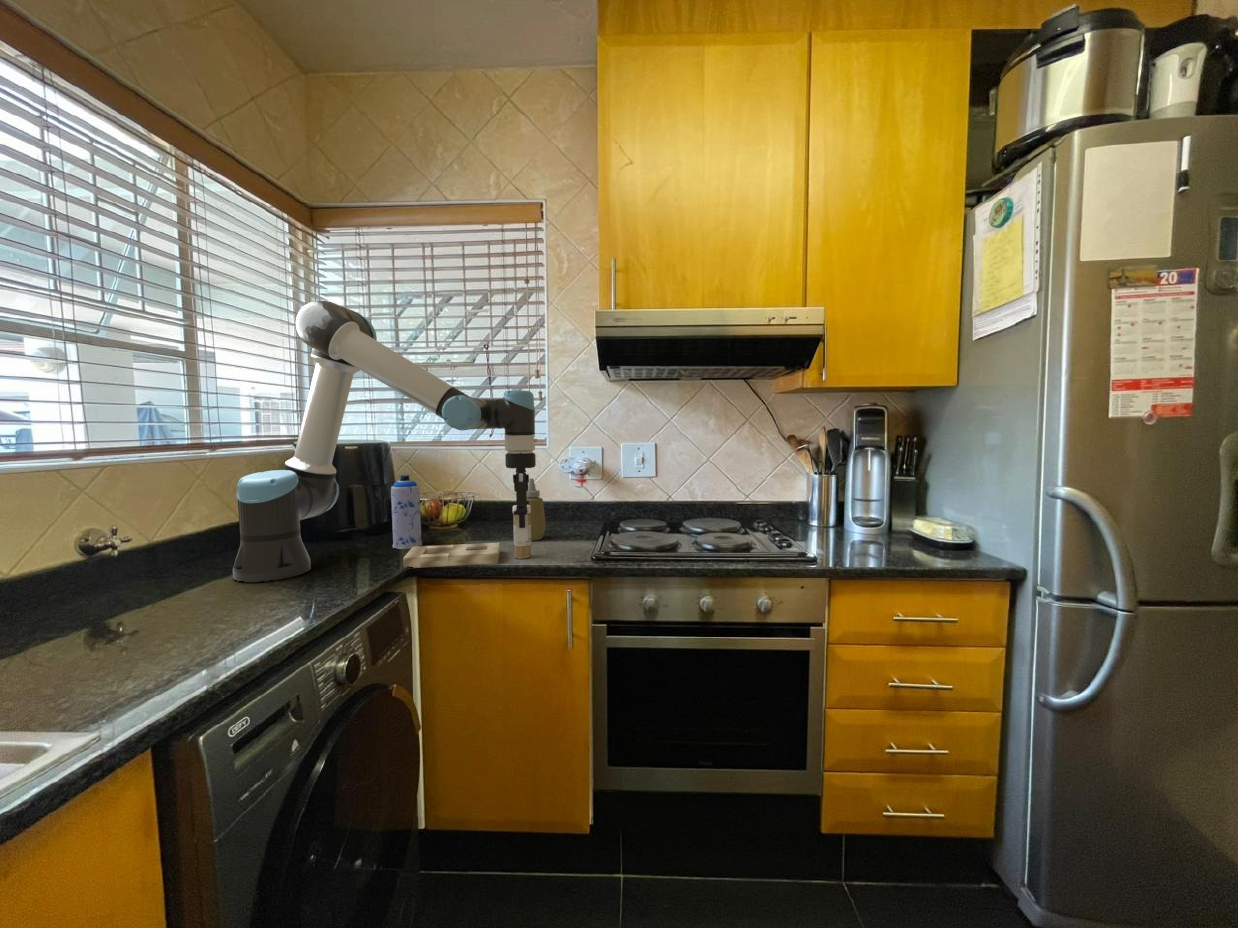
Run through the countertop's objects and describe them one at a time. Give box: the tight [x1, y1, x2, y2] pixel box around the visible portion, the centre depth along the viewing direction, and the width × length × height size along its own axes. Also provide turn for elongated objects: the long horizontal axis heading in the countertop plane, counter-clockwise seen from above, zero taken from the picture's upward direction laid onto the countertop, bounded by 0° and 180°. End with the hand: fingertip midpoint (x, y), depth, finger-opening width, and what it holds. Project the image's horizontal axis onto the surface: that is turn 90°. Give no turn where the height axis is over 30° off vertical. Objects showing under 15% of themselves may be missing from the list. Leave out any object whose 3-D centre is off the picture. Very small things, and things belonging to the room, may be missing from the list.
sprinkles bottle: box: [512, 504, 532, 560], centre depth 136 cm, size 5×5×13 cm
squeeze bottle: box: [526, 478, 547, 542], centre depth 157 cm, size 8×8×18 cm
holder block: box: [402, 542, 501, 569], centre depth 135 cm, size 22×12×3 cm, turn 101°
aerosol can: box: [390, 474, 423, 550], centre depth 150 cm, size 8×8×20 cm
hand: (522, 535), depth 136 cm, fingers open, 13 cm apart
